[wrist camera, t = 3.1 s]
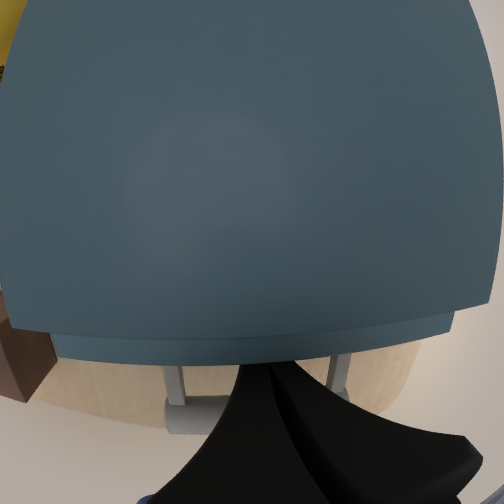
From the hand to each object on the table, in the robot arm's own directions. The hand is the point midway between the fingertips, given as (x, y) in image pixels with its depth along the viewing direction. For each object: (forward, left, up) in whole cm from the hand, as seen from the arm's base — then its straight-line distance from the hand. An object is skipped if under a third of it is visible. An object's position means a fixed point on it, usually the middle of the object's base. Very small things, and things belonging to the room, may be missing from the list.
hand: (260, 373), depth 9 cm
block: (-2, +14, -5) cm, 15 cm away
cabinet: (+10, 0, -5) cm, 12 cm away
